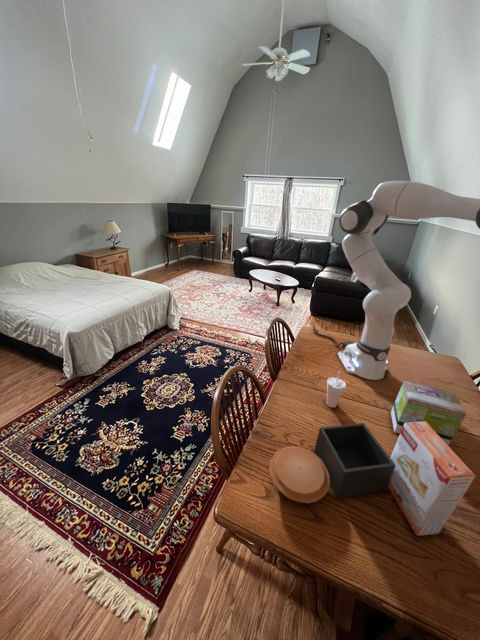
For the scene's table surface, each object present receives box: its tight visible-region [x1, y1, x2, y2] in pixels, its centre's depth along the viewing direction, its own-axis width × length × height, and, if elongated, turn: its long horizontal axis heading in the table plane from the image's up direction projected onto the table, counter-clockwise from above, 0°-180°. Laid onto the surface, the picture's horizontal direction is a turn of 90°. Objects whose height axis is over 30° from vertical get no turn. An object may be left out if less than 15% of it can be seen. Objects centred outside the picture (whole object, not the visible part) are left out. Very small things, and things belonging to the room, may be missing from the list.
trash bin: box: [313, 422, 395, 499], centre depth 72 cm, size 14×14×10 cm
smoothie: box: [325, 371, 347, 409], centre depth 95 cm, size 6×6×14 cm
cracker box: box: [386, 422, 476, 537], centre depth 62 cm, size 14×6×21 cm, turn 5°
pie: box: [268, 445, 331, 504], centre depth 70 cm, size 16×16×5 cm
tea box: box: [390, 380, 467, 446], centre depth 85 cm, size 15×10×15 cm, turn 68°
